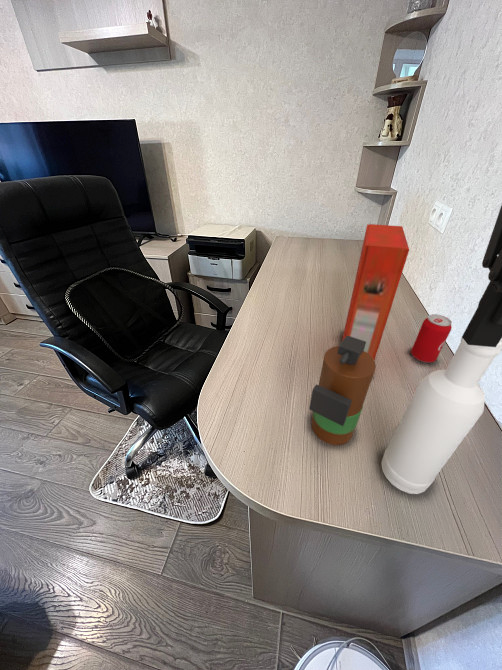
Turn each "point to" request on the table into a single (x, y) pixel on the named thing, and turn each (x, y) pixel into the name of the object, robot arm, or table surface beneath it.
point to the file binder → (376, 284)
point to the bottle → (438, 419)
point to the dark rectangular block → (329, 404)
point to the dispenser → (344, 387)
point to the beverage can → (431, 338)
